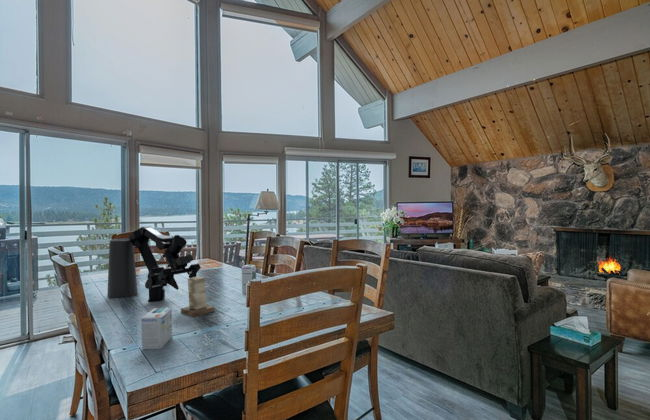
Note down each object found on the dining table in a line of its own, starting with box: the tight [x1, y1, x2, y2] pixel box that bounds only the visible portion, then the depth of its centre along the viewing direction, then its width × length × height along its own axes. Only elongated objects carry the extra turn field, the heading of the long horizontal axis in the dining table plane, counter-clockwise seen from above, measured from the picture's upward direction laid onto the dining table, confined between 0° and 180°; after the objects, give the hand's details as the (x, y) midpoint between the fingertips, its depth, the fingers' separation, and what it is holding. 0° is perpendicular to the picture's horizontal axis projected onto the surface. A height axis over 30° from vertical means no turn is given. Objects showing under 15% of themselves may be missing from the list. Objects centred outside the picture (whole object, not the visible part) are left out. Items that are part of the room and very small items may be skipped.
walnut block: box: [180, 304, 215, 318], centre depth 159 cm, size 10×10×2 cm
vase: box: [106, 238, 138, 299], centre depth 187 cm, size 14×14×29 cm
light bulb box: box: [140, 307, 173, 350], centre depth 124 cm, size 11×7×11 cm, turn 5°
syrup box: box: [241, 264, 257, 295], centre depth 191 cm, size 6×6×14 cm
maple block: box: [187, 275, 207, 310], centre depth 159 cm, size 5×5×13 cm
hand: (187, 287), depth 163 cm, fingers open, 9 cm apart
